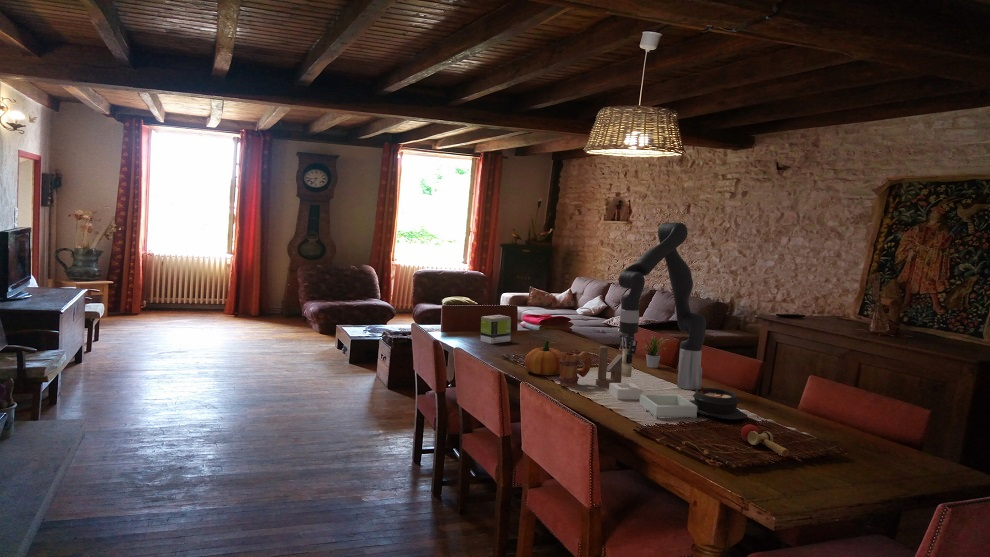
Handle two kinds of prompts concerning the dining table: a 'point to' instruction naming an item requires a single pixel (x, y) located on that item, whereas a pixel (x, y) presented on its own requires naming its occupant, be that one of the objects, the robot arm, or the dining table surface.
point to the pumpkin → (544, 361)
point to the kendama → (761, 439)
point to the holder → (624, 390)
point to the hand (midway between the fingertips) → (626, 362)
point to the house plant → (653, 352)
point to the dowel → (625, 365)
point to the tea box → (495, 329)
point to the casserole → (717, 403)
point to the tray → (668, 406)
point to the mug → (573, 368)
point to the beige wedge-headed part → (608, 368)
